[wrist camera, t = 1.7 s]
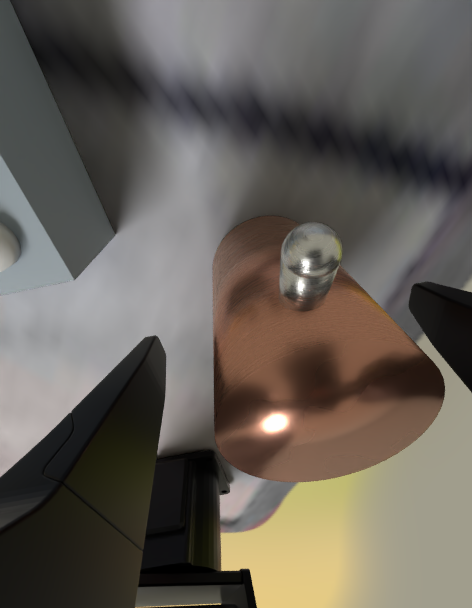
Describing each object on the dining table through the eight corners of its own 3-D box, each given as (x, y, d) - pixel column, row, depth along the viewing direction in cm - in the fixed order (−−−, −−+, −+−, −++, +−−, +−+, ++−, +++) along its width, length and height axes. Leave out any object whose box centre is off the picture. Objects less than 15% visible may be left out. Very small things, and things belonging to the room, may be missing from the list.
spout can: (319, 302, 14) (419, 463, 7) (224, 321, 14) (237, 494, 7) (316, 154, 10) (518, 201, 3) (188, 183, 10) (146, 279, 4)
